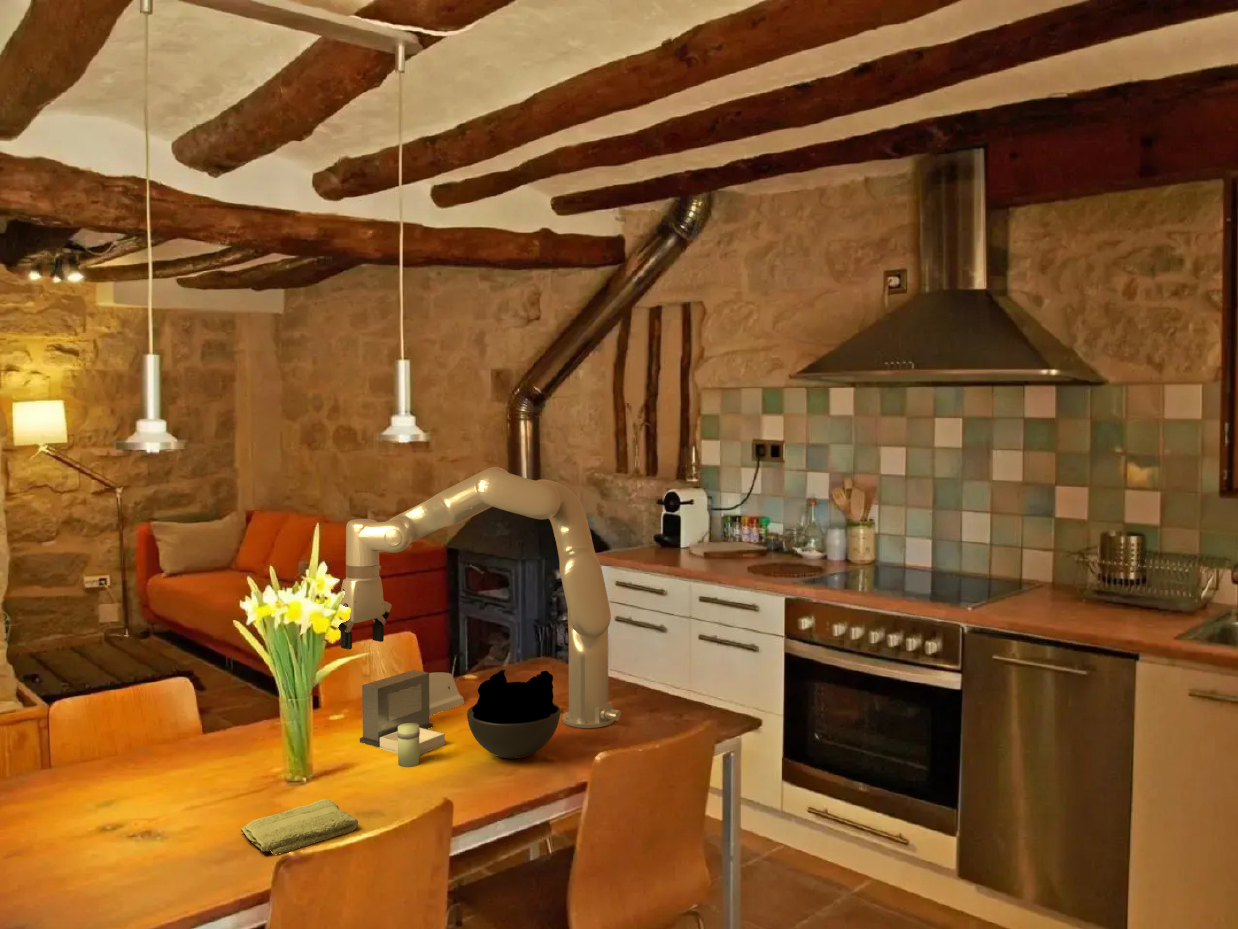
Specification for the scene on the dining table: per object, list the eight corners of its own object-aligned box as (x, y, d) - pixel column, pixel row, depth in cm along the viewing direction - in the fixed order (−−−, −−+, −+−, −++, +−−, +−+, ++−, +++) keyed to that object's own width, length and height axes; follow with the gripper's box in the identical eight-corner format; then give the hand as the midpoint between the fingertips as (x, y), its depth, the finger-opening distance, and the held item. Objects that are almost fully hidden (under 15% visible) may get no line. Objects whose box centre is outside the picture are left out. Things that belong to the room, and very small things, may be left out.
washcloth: (236, 836, 182) (236, 818, 181) (331, 811, 193) (331, 794, 193) (264, 862, 172) (264, 843, 171) (362, 833, 183) (362, 816, 183)
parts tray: (444, 744, 229) (444, 733, 229) (412, 757, 221) (412, 746, 221) (412, 736, 235) (412, 726, 235) (379, 748, 227) (379, 737, 226)
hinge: (418, 720, 247) (407, 679, 248) (405, 724, 249) (394, 683, 251) (465, 703, 261) (455, 665, 262) (453, 707, 263) (443, 669, 265)
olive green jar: (424, 762, 218) (424, 725, 218) (408, 768, 214) (408, 731, 214) (409, 758, 221) (408, 721, 220) (393, 764, 217) (392, 727, 216)
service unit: (432, 727, 242) (432, 672, 241) (378, 747, 228) (377, 689, 227) (414, 723, 245) (413, 669, 244) (359, 742, 231) (358, 685, 230)
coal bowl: (448, 763, 217) (448, 676, 216) (499, 736, 235) (498, 655, 234) (531, 778, 209) (530, 687, 208) (576, 748, 227) (576, 664, 226)
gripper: (379, 566, 249) (378, 636, 250) (322, 575, 235) (322, 649, 236) (401, 569, 245) (400, 640, 246) (344, 578, 231) (344, 654, 232)
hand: (362, 644), depth 241 cm, fingers open, 9 cm apart
